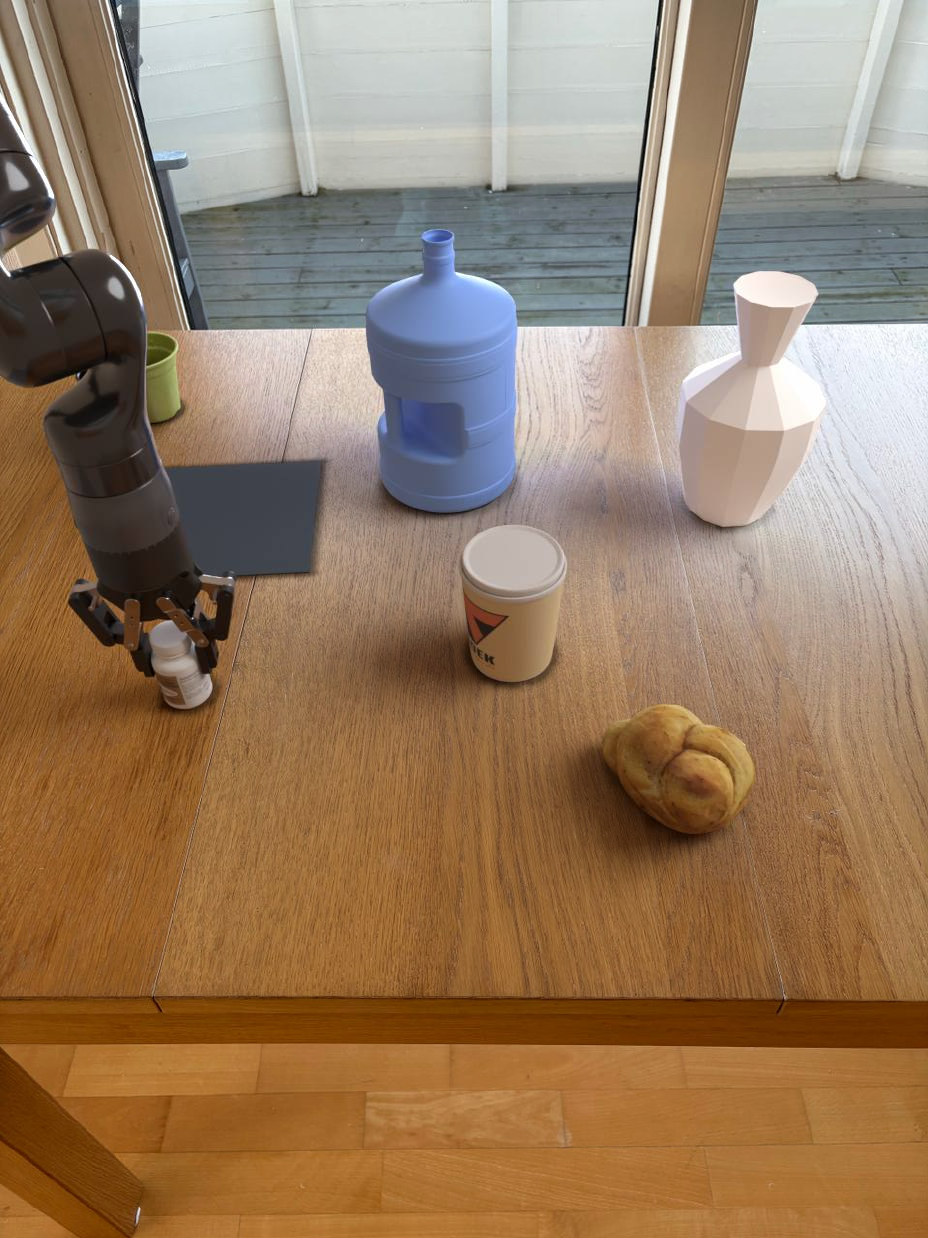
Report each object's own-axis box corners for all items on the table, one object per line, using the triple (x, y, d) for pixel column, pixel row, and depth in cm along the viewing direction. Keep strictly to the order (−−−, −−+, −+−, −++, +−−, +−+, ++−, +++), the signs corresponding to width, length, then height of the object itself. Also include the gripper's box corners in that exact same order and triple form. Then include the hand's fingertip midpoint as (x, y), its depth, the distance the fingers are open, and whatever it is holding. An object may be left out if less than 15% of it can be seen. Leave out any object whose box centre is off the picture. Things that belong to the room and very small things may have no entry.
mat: (117, 581, 98) (116, 581, 98) (153, 469, 113) (152, 468, 113) (309, 572, 99) (309, 571, 99) (321, 461, 113) (321, 460, 113)
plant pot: (132, 439, 117) (112, 377, 111) (109, 405, 123) (89, 344, 117) (204, 416, 121) (188, 354, 115) (178, 384, 127) (162, 324, 121)
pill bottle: (155, 692, 87) (133, 632, 82) (197, 667, 89) (177, 608, 84) (180, 718, 85) (159, 659, 80) (222, 693, 87) (204, 633, 82)
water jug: (466, 423, 118) (461, 192, 99) (542, 485, 109) (552, 242, 89) (356, 465, 112) (327, 228, 93) (426, 534, 103) (409, 286, 83)
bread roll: (575, 767, 80) (581, 705, 75) (654, 710, 84) (665, 647, 79) (691, 870, 73) (708, 811, 67) (772, 802, 77) (793, 741, 72)
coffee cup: (447, 634, 92) (442, 538, 83) (535, 607, 94) (539, 511, 86) (485, 701, 86) (483, 605, 77) (578, 671, 88) (586, 574, 80)
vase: (692, 554, 99) (734, 333, 82) (646, 476, 109) (674, 265, 92) (818, 534, 101) (885, 314, 84) (761, 459, 111) (811, 249, 94)
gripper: (228, 484, 76) (264, 635, 88) (48, 493, 76) (109, 643, 88) (215, 544, 70) (255, 696, 82) (21, 554, 70) (90, 704, 82)
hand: (180, 668), depth 85 cm, fingers closed on pill bottle, 4 cm apart
